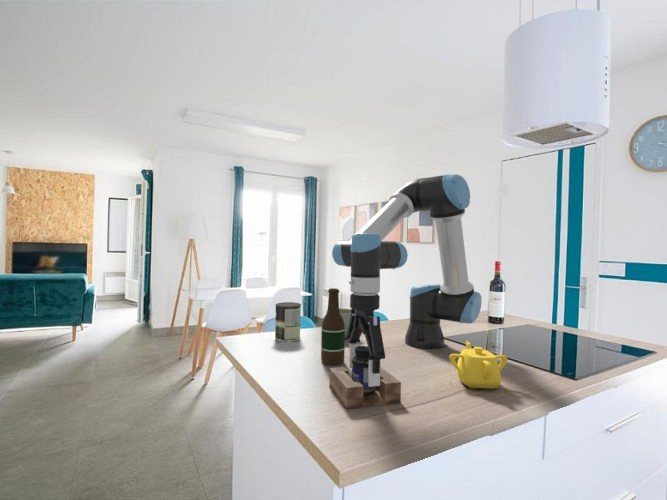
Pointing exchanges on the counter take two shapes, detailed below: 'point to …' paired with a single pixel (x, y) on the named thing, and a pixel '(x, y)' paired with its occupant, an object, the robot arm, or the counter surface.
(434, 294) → the robot arm
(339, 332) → the beer bottle
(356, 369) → the pill bottle
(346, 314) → the planter
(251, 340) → the counter surface
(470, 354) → the teapot
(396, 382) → the socket
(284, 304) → the coffee can
